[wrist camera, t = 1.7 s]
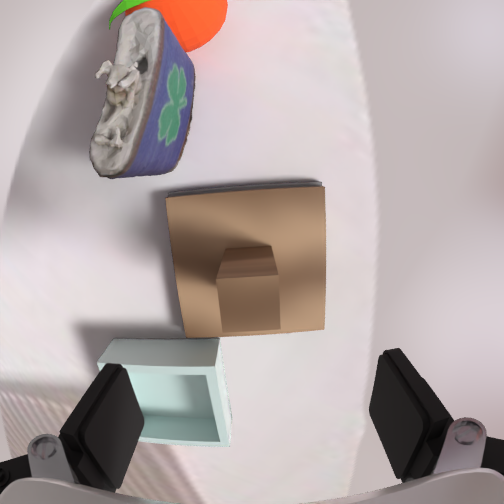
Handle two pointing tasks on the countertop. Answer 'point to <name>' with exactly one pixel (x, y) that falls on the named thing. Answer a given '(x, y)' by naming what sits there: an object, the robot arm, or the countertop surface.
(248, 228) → the lid
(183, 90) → the flask
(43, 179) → the countertop surface
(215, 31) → the clementine
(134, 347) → the dish
